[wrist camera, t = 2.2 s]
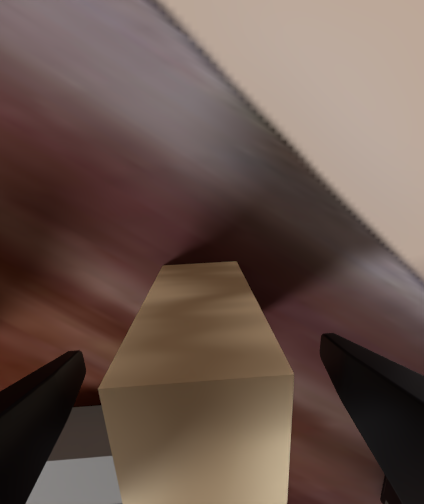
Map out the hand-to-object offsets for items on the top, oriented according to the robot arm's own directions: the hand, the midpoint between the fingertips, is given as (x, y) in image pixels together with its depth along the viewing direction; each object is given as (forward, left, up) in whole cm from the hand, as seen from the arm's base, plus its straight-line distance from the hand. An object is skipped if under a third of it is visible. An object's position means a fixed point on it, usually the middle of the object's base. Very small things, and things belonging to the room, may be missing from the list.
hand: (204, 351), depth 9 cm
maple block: (0, 0, -4) cm, 5 cm away
